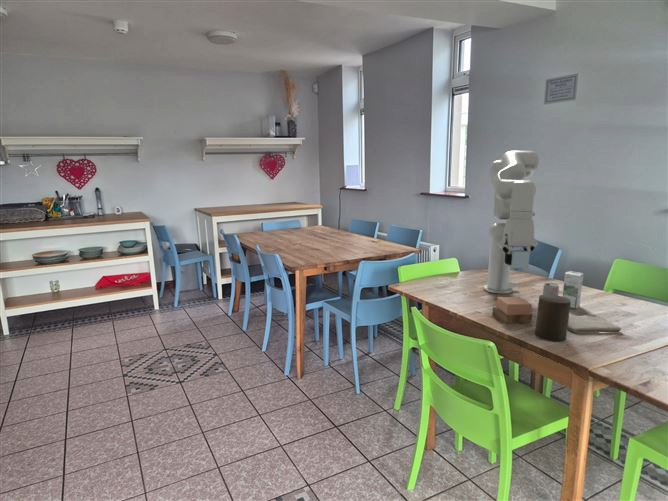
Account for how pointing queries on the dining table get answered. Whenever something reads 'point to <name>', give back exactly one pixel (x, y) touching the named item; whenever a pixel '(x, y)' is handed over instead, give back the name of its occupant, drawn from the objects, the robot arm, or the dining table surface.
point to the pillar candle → (552, 317)
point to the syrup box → (573, 287)
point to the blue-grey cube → (519, 259)
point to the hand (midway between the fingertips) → (516, 263)
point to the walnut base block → (511, 317)
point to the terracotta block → (513, 305)
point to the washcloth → (590, 325)
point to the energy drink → (551, 289)
